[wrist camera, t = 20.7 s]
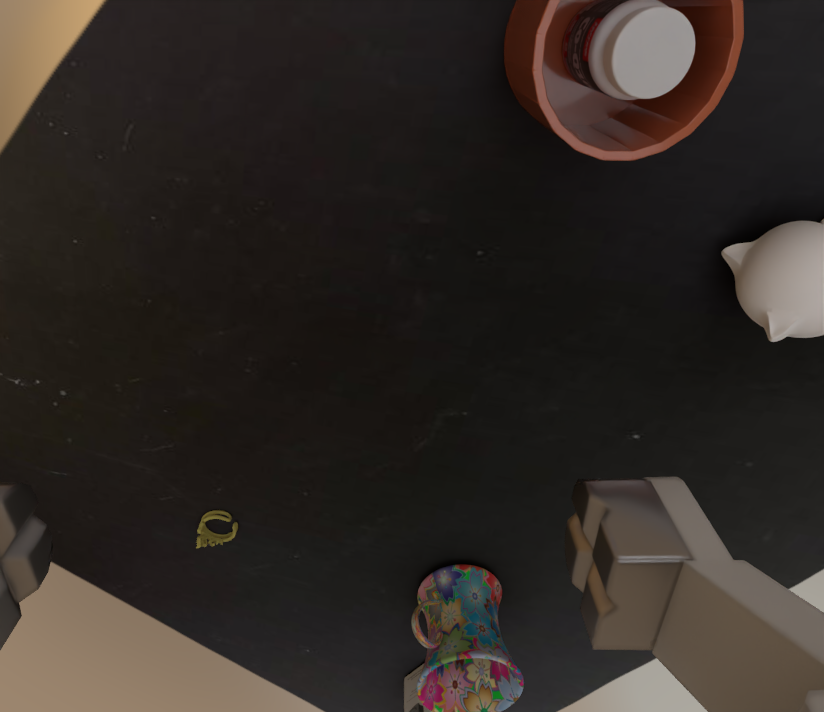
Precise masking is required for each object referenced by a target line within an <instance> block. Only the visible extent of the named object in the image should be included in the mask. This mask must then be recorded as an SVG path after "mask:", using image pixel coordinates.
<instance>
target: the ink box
mask: <svg viewBox="0 0 824 712" xmlns="http://www.w3.org/2000/svg"><path fill="white" fill-rule="evenodd" d="M423 666H424V664H422V665H421V666H420V667H418V668H417V669H416V670H414V671H413V672H412V673H410V674H409V675H408V676H406V677H405V678H404V712H432V711H431V710H429V709H428V708H426V707H425V706H424V705H423V704H422V703H421V701H420V700H419V698H418V695H417V690H416V686H417V681H418V679H419V676H420V674H421V671H422V669H423Z"/></svg>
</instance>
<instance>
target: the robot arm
mask: <svg viewBox="0 0 824 712" xmlns="http://www.w3.org/2000/svg"><path fill="white" fill-rule="evenodd" d="M572 501H573V504H574V507H575V510H576V513H575V514H574V515H573V516H572V517H571V518H569V519H568V520H567V526H566V532H565V556H566V562H567V567H568V571H569V575H570V578H571V581H572V583H573V584H574V585H575V586H576V587H577V588H579V589H580V590H581V591H582V592H583V597H582V602H581V606H580V610H581V613H582V616H583V619H584V623H585V626H586V629H587V632H588V635H589V638H590V641H591V644H592V647H593V649H609V650H653V652H652V653H653V655H654V656H655V657H656V658H657V659H658V660H659V661H660V662H661V663H662V664H663V665H664V666H665V667H666V668H667V669H668V670H669V671H670V672H671V673H672V674H673V675H674V676H675V678H676V679H677V680H678V681H679V682H680V683H681V684H682V685H683V686H684V687H685V688H686V689H687V690H688V691H689V692H690V693H691V694H692V695H693V696H694V697H695V699H696V700H698V702H699V703H700V704H701V705H702V706H703V707H704V708H705V709H706V710H707V711H708V712H824V613H823V612H822V611H820V610H819V609H817V608H816V607H814V606H813V605H811V604H809V603H808V602H806V601H805V600H803V599H802V598H800V597H799V596H797V595H795V594H794V593H793V592H791V591H790V590H788V589H787V588H785V587H784V586H782V585H781V584H779V583H778V582H776V581H775V580H773V579H772V578H770V577H769V576H767V575H766V574H764V573H763V572H761V571H760V570H758V569H756V568H755V567H753V566H752V565H750V564H749V563H747V562H746V561H744V560H733V558H732V557H731V555H730V554H729V552H728V550H727V549H726V547H725V546H724V544H723V543H722V541H721V539H720V538H719V536H718V535H717V533H716V532H715V530H714V528H713V527H712V525H711V524H710V522H709V520H708V519H707V517H706V516H705V514H704V513H703V511H702V509H701V508H700V506H699V505H698V503H697V501H696V500H695V498H694V497H693V495H692V494H691V492H690V490H689V489H688V487H687V486H686V484H685V483H684V481H683V480H681V479H680V478H678V477H647V478H643V479H642V478H615V479H578V480H577V482H576V484H575V486H574V490H573V495H572ZM37 505H38V500H37V498H36V496H35V494H34V492H33V490H32V487H31V486H29V485H26V484H23V483H3V482H0V650H1V648H2V647H3V645H4V644H5V642H6V640H7V639H8V637H9V635H10V634H11V632H12V631H13V629H14V627H15V626H16V624H17V622H18V621H19V619H20V618H21V616H22V615H21V610H20V605H19V602H21V601H22V600H23V599H25V598H26V597H27V596H29V595H30V594H32V593H33V592H35V591H36V590H38V588H39V587H40V585H41V583H42V582H43V580H44V578H45V576H46V575H47V573H48V570H49V566H50V562H51V558H52V554H53V545H52V536H51V533H50V531H49V528H48V525H47V524H45V523H44V522H43V521H41V520H40V519H39V518H37V517H36V516H35V515H33V512H34V510H35V508H36V507H37Z"/></svg>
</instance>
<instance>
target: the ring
mask: <svg viewBox="0 0 824 712" xmlns="http://www.w3.org/2000/svg"><path fill="white" fill-rule="evenodd" d="M214 514H223V515H226V516H228V517H229V518H226V517H223V516H219V515H214ZM231 518H232V517H231V515H230V514H229V513H228V512H225V511H221V510H214V511H210V512H208V513H206V514H205V515H204V516H203V517H202V519H201V522H200V525H199V528H198V530H197V532H198V533H199V534H201V535H200V536H198V537H197V546H196V548H199V547H201V546H204V547H206V546H207V539H208V540H209V542H208V544H209V543H210V545H211V546H215V543H213V544H212V542H216V545H217V544H218V543H221V545H223V543H222V542H226V541H230V540H232V539H233V538H234V537H235V535H236V532H237V529H238V523H237V522H234V524H233V531H232V532H231V533H228V534H216V533H213V532H211V531H210V530H209V529H208V528H207V527H206V525H205V522H206V521H208V520H210V519H222V520H224V521H227V522H230V521H231ZM210 535H211V536H210ZM212 536H213V537H212ZM216 537H217V538H216ZM227 537H228V538H227ZM221 538H222V539H221ZM203 541H204V542H203Z"/></svg>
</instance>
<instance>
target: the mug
mask: <svg viewBox="0 0 824 712" xmlns="http://www.w3.org/2000/svg"><path fill="white" fill-rule="evenodd" d="M501 597H502V588H501V585H500V583H499V581H498V579H497V578H496V577H495V576H494V575H493V574H492V573H490V572H489V571H487V570H485V569H483V568H481V567H478V566H474V565H467V564H458V565H450V566H446V567H443V568H440V569H438V570H436V571H434V572H433V573H431V574H430V575H428V576H427V577H426V578H425V579H424V580H423V582H422V583H421V585H420V587H419V590H418V594H417V598H418V603H419V605H418V606H417V607H416V609H415V610H414V612H413V614H412V619H411V625H412V630H413V632H414V635H415V637H416V638H417V640H418V641H419V642H420V643H421V644H422V645H423V646H424V647H426V648H428V649H427V655H426V659H425V663H424V666H423V669H422V671H421V674H420V676H419V679H418V681H417V686H416V690H417V695H418V698H419V700H420V701H421V703H422V704H423V705H424V706H425V707H426V708H428V709H429V710H431V711H432V712H501V711H503V710H505V709H507V708H508V707H510V706H511V705H512V704H513V703H514V702H516V700H517V699H518V698H519V697H520V695H521V693H522V691H523V686H524V680H523V676H522V674H521V672H520V670H519V669H518V667H517V666H516V664H515V663H514V661H513V660H512V658H511V657H510V655H509V653H508V651H507V649H506V647H505V644H504V642H503V639H502V636H501V633H500V629H499V624H498V607H499V603H500V601H501ZM421 610H423V612H424V614H425V617H426V620H427V625H428V639H427V638H426V637H425V635H424V634H423V632H422V631H421V628H420V625H419V614H420V612H421Z"/></svg>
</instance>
